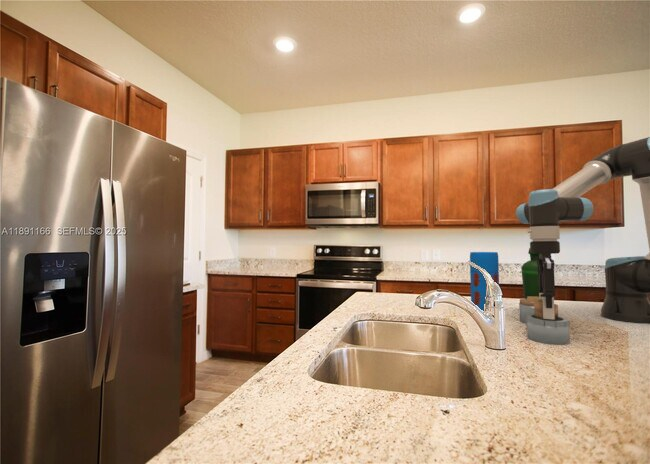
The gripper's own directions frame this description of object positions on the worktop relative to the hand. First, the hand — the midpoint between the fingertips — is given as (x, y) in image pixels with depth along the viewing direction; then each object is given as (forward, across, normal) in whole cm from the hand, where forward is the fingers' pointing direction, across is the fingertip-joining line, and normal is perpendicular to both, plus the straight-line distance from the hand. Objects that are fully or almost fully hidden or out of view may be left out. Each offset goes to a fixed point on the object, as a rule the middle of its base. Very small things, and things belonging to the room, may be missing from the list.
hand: (546, 316), depth 97 cm
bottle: (+7, -36, +2) cm, 37 cm away
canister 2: (+7, 0, 0) cm, 7 cm away
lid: (0, 0, 0) cm, 0 cm away
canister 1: (+7, -22, -1) cm, 23 cm away
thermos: (+7, -34, -17) cm, 39 cm away
